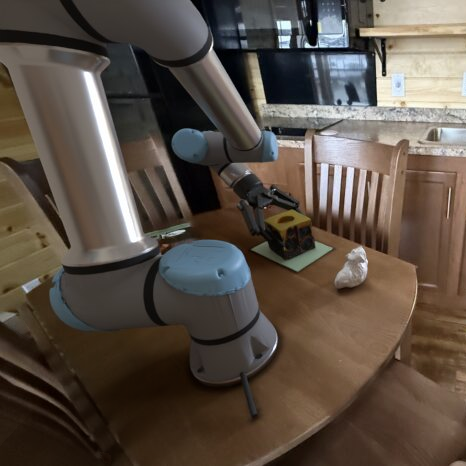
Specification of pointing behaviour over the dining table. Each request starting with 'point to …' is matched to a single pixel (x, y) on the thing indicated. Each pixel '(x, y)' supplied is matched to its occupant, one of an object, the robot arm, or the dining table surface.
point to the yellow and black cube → (291, 233)
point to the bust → (353, 269)
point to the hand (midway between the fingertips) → (296, 237)
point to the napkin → (295, 262)
